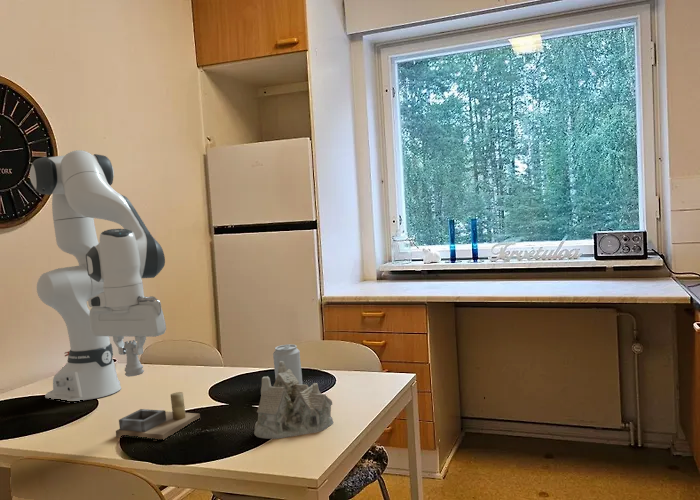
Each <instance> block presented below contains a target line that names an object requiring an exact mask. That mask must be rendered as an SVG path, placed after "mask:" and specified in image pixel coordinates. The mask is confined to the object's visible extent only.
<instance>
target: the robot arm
mask: <svg viewBox="0 0 700 500" xmlns="http://www.w3.org/2000/svg"><path fill="white" fill-rule="evenodd" d="M114 177H115V171H114V166H113V165H112V162H111V160H110V159H109V158H108V156H107V155H103V154H99V153H98V154H97V153H95V154H92V153H90V152H89V151H86V150H82V149H81V150H80V149H79V150H72V151H70V152H67V153H66V154H65V155H57V156H56V155H55V156H50V157H47V156H44V157H39V158H37V159H35V160H34V161H32V163H31V166H30V170H29V180H30V183H31V185H32V186H33V188H34V190H35V191H36V192H37V193H39V194H41V195H46V196H51V195H52V196H51V199H52V201H51V207H52V209H51V210H52V212H51V213H52V221H53V228H54V236H55V241H56V242H55V243H56V245H57V247H58V248H59V249H60V251H62V252H64V253H66V254H69V255H72V256H74V258H75V259H76V261H77V263H78V265H74V266H67V267H59V268H55V269H52V270H50V271H47V272H43V273H42V274H41V275H40V276H39V278H38V280H37V283H36V292H37V293H36V294H37V296H38V298H39V300H40V301H41V302H42V303H44V304H45V305H47V306H48V307H51V308H52V309H53V310H55V311H56V312H57V313H58V314H59V315H60V316H61V318H62V319H63V321H64V323H65V326H66V330H67V335H68V339H69V347H70V349H69V351H65V352H64V357H67V362H66V363H65V364H64V366H62V368H60V369H59V371H58V372H57V373H56V374H55V375H54V376H53V378H52V389H51V390H50V391H49V392H47V393H45V396H44V397H45V399H49V398H51V399H50V400H54V399H61V400H67V401H79V402H81V401H80V400H83V401H87V400H93V399H98V398H99V399H100V398H103V397H107V396H110V395H113V394H115V393H117V392H119V391H120V390H121V389H122V386H121V381H120V380H119V378H118V374H117V370H116V365H115V361H114V359H113V356H114V351H113V350H114V349H113V345H112V343H111V338H110V337H112V342H113V343H114V344H115V346H116V347H117V349H118V351H117V352H118V354H119V355H124V356H125V355H126V353H125V352H126V349H125V348H124V345H125V343H124V342H125V341H124V340H125V339H124V338H125V337H134V340H135V341H136V343H137V344H136V347H134V348H133V351H134V352H133V354H134V355H138V356H140V355H143V353H144V345H145V343H146V340H147V337H149V338H150V337H151V338H152V337H155V338H156V337H159V336H162V335H164V334H165V333H166V331H167V325H166V324H167V323H166V320H165V316H164V312H163V308H162V303H161V301H160V300H159V299H158V298H157V297H156V296H153V295H152V296H151V295H150V296H145V291H144V284H143V279H153V278H155V277H157V276H158V275H159V274H160V273H161V272H162V270H163V268H164V267H165V263H166V258H165V257H166V256H165V254H164V250H163V247H162V246H161V244H160V242H158V241H157V240H156V238H155V237H154V236H153V235H152V234H151V232H150V231H149V229H148V227H147V226H146V224H145V223H144V220H143V219H142V218H141V216H140V215H139V213H138V211H137V210H136V208H135V207H134V205H133V203H132V202H131V200H130V199H129V198H128V197H127V196H125V195H123V194H121V193H119V192H117V191H116V190H115V189H114V188H113V187H112V185H113V181H114ZM95 219H99V220H104V221H109V222H113V223H116V224H118V225H119V226H122V228H111V229H106V230H104V231H102V232H100V234H99V239H98V235H97V229H96V226H95V225H96V224H95Z"/></svg>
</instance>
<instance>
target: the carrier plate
mask: <svg viewBox="0 0 700 500" xmlns="http://www.w3.org/2000/svg"><path fill="white" fill-rule="evenodd" d="M184 397H185V396H184V393H183V392H182V391H179V392H178V391H177V392H176V391H175V392H173V393H171V394H170V401H171V402H170V403H171V411H166V410H164V409H163V410H162V409H149V408H148V409H146V408H140V409H138V410H136V411H134V412H131V413H130V414H128V415H125V416H124V417H122V418H120V419H118V425H119V429H117V430H115V436H116V438H122V437H121V436H122V435H129V436H138V437H147V438H155V439H163V440H164V439H165V438H167V437H168V436H170V435H172V434H174V433H175V432H177V431H179V430H180V429H182V428H184V427H185V426H187V425H188V424H190V423H191V422H193V421H195V420H197V419H199V418H200V419H201V414H200V413H196V412H186V410H185V409H186V408H185V407H186V406H185V398H184Z"/></svg>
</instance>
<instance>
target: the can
mask: <svg viewBox="0 0 700 500" xmlns="http://www.w3.org/2000/svg"><path fill="white" fill-rule="evenodd" d="M297 347H298V346H297V345H296V344H290V343H289V344H280V345H278V346H275V348H274V351H273V353H272V355H273V365H274V366H273V367H274V375H275V376H274V378H275V379H274V380H276V378H277V376H278V374H279V373H278V367H279V362H280V361H284V363H285V366H286V369H287V370H288V369H290V370H291V371H292V373H293V374H294V376H295V377H296V378H297V380H298V381H299V384H303V373H302V365H301V363H302V362H301V355H300V349H298V348H297ZM303 385H304V384H303Z"/></svg>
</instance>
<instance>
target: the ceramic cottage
mask: <svg viewBox="0 0 700 500" xmlns="http://www.w3.org/2000/svg"><path fill="white" fill-rule="evenodd" d="M278 373H279V374H278V376H277V378H276V379H275V381H274V384H273V386H272V384H271V383H272V382H271V378H270V377H269V375H267V376H263V377H261V388H260V395H261V396H260V400H259V404H258V406H257V410H256V413H257V414H258V415H257V421H256V422H255V425H254V431H253V434H254V436H256V438H260V439H269V440H270V439H273V440H274V439H275V440H276V439H277V440H279V439H284V438H290V437H291V438H292V437H296V436H301V435H303V436H304V435H308V434H314V433H319V432H323V431H324V430H327V429H328V427H330V426H331V425H334V419H333V416H331V413H332V412H331V411H332V405H333V400H332V399H330V398H329V396H327V395H326V394H324V393H322V392H321V391H320V389H319V385H318V383H317V382H314V383H312V384H311V385H310V386H309V384H299V381H298V380H297V378H296V377H295V376H294V374H293V373H292V371H291V370H290V369H288V370H287V369H286V366H285V363H284V361H280V362H279V367H278Z"/></svg>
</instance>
